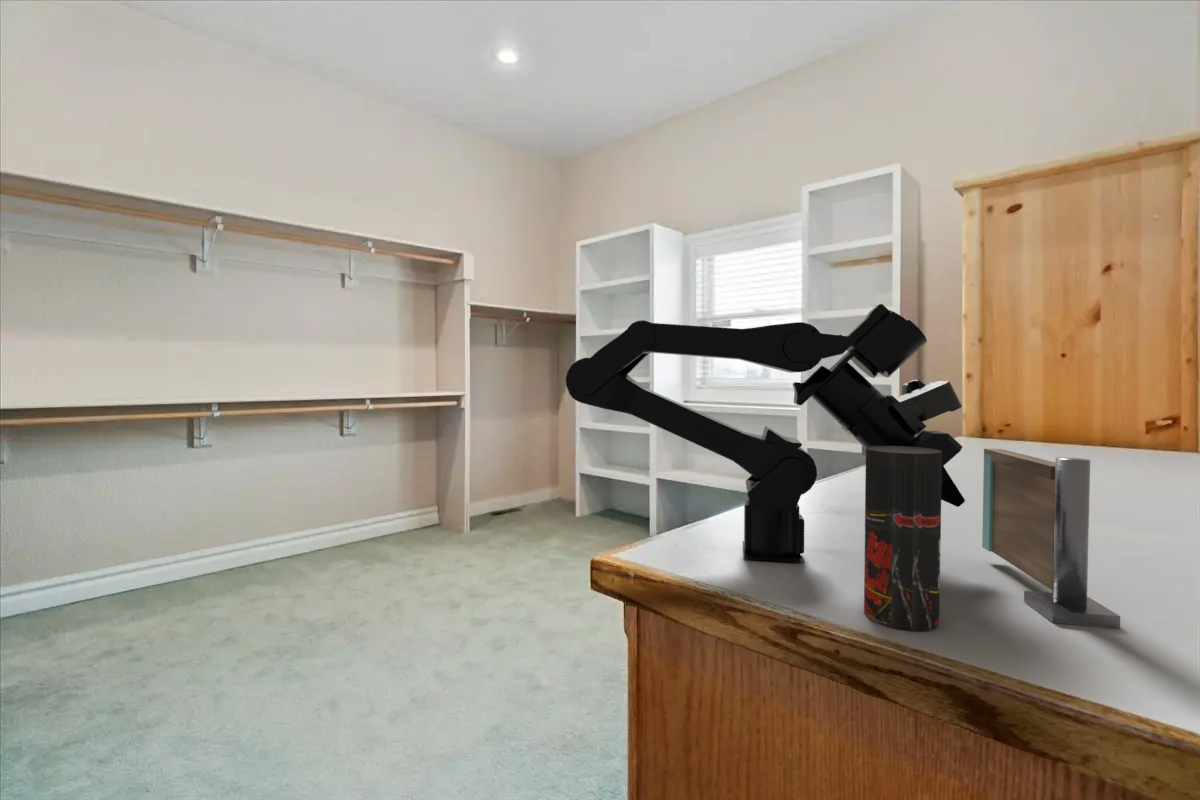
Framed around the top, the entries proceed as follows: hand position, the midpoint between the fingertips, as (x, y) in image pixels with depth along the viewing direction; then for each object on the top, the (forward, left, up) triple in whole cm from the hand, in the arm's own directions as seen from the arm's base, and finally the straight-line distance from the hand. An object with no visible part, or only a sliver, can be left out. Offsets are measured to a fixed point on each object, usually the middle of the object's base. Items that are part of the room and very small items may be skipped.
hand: (960, 503), depth 65 cm
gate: (+4, -4, -6) cm, 8 cm away
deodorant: (-11, -17, -7) cm, 21 cm away
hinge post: (+4, -13, -7) cm, 15 cm away
